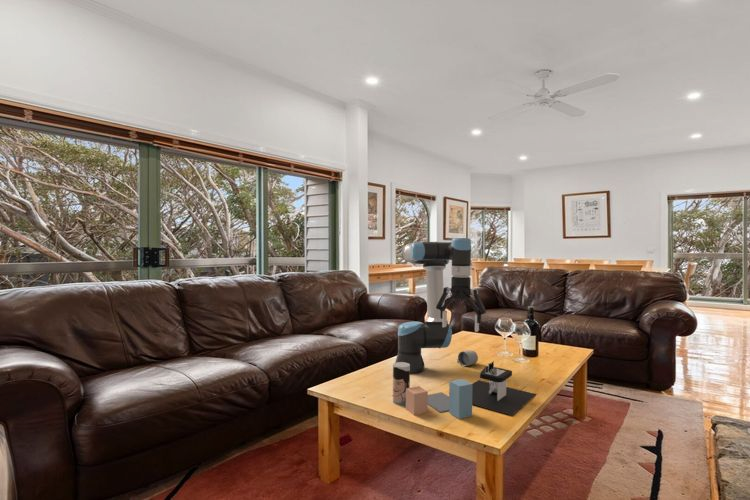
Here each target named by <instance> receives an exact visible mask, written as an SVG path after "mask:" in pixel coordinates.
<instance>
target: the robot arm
mask: <svg viewBox="0 0 750 500" xmlns="http://www.w3.org/2000/svg"><path fill="white" fill-rule="evenodd" d="M401 256H402V259H403V260H405V262H407V263H409V264H414V265H422V266H423V269H424V271H426V306H427V307H426V310H427V312H426V313H427V318H426V319H425V320H424V324H423V323H422V322H421V321H407V322H403V323H400V324H399V325H398V328H397V336H398V337H397V338H398V339H397V355H396V358H395V362H394V363H397V362H405V363H409V364H410V375H412V374H413V375H414V374H419V373H423V372H424V371H425V368H426V367H425V361H424V359H423V356H422V355H423V354H422V349H445V348H448V347H449V346H450V345H451V342H452V337H453V330H452V328H453V327H452V325H451V324H449V321H448V320H447V319H448V317H447V316H448V314H447V313H448V310H446V309H447V308H448V307H449V306H450V305H451V303H453V302H454V300H455V299H456V300H461V301H466V302H467V303H468V304H469V306H470V307H471V308H472V309H473V311H474V313H475V315H474V332H476V333H477V332H479V331H480V324H481V323H482V315H484V314H486V313H487V310H486V309H487V308H486V306H485V305H484V303H483V300H482V299H481V296H480V294H479V289H478V288H476V289H471V277H470V276H471V274H472V272H471V270H472V269H471V268H472V267H471V266H472V263H471V261H472V239H470V238H469V237H453V238H452V239H451V241H450V242H449V241H447V242H446V241H444V242H443V241H413V242H409V243H407V244H405V245H403V247H402V249H401ZM450 261H451V284H450V285H451V287H449V286H444V270H445V269H446V268H447V266H446V265H448V264H449V263H450ZM449 293H451V296H450V297H449V298H448V299H447V301H446V302H445V300H446V298H447V297H448V294H449ZM471 294H472V296H473V297H474V299H475V301H474V299H473V298H472V296H471Z"/></svg>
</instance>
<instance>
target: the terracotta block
mask: <svg viewBox="0 0 750 500" xmlns="http://www.w3.org/2000/svg"><path fill="white" fill-rule="evenodd" d="M428 395H429V393H428V390H426V389H424V388H423V387H421V386H413V387H410V388H407V389H406V405H405V411H408V412H409V413H410V414H411V415H413V416H417V415H421V414H426V413H428V410H429V409H428V406H429V405H428Z"/></svg>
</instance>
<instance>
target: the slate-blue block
mask: <svg viewBox="0 0 750 500" xmlns="http://www.w3.org/2000/svg"><path fill="white" fill-rule="evenodd" d="M448 383H449V384H448V386H449V388H448V389H449V391H448V392H449V393H448V396H449V411H448V413H449V414H451V415H452V416H454V417H455V418H456V419H459V420H461V419H466V418H469V417H472V416H473V404H472V384H473V383H472V382H470V381H467V380H465V379H463V378H460V379H454V380H449V381H448Z"/></svg>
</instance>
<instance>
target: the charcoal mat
mask: <svg viewBox="0 0 750 500" xmlns="http://www.w3.org/2000/svg"><path fill="white" fill-rule="evenodd" d="M428 406H429V407H430V408H432V409H433V410H435V411H437V412H439V414H440V413H446V412H449V395H448V394H445V393H444V392H436V393H431V394H428Z"/></svg>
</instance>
